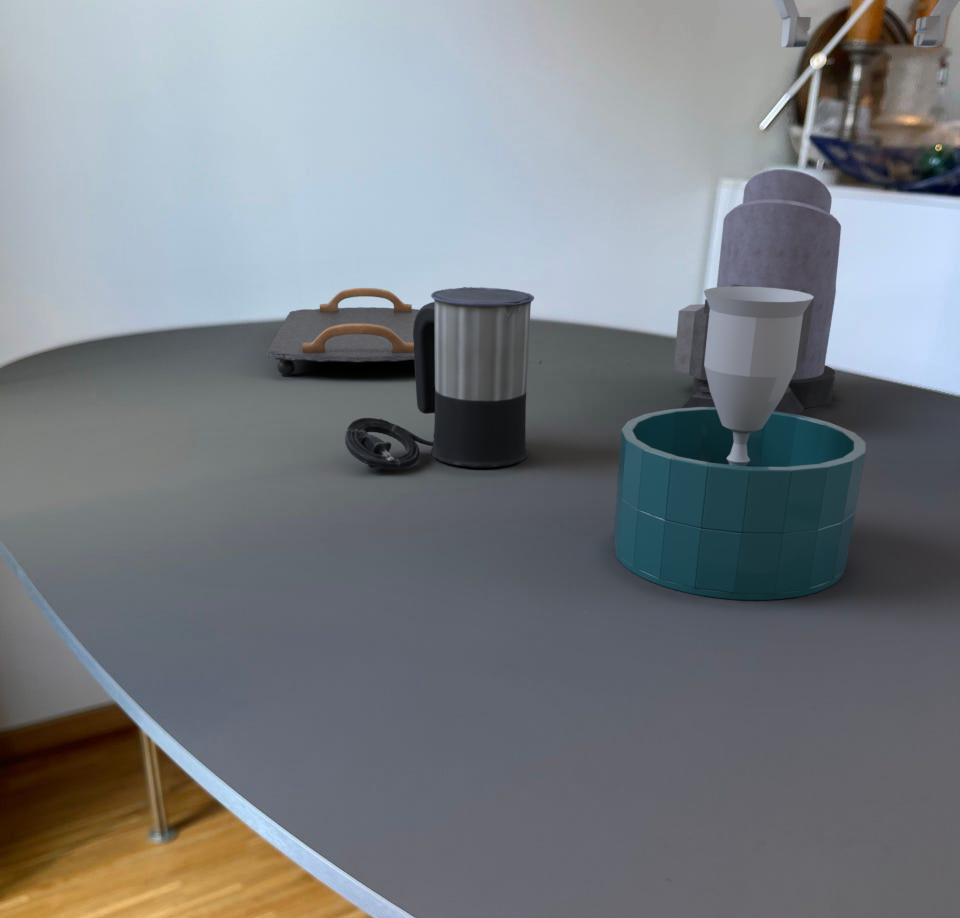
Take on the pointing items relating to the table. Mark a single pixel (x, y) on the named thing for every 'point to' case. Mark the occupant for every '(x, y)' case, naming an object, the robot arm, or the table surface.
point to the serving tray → (346, 332)
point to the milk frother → (463, 382)
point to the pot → (736, 504)
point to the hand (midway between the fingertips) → (860, 47)
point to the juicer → (775, 278)
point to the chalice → (751, 355)
